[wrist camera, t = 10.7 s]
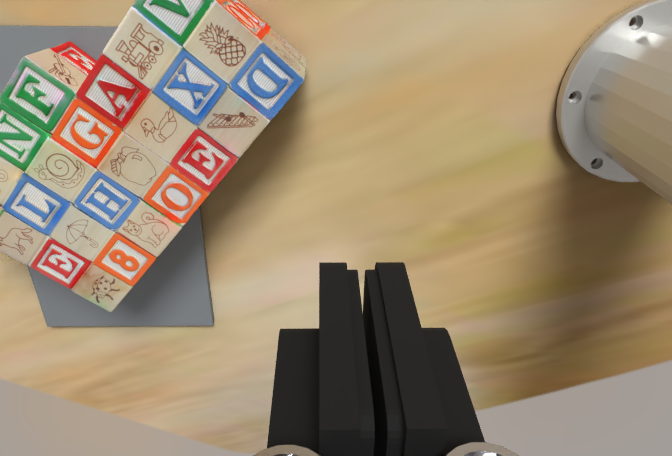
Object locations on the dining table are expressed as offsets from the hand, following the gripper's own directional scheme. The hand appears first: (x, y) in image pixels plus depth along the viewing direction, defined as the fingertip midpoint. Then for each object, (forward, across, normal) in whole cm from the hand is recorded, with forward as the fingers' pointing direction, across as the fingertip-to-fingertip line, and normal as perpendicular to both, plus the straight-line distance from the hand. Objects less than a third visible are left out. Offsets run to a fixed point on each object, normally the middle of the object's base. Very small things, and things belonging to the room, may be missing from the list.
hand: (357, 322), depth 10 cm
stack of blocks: (+23, +8, +8) cm, 26 cm away
